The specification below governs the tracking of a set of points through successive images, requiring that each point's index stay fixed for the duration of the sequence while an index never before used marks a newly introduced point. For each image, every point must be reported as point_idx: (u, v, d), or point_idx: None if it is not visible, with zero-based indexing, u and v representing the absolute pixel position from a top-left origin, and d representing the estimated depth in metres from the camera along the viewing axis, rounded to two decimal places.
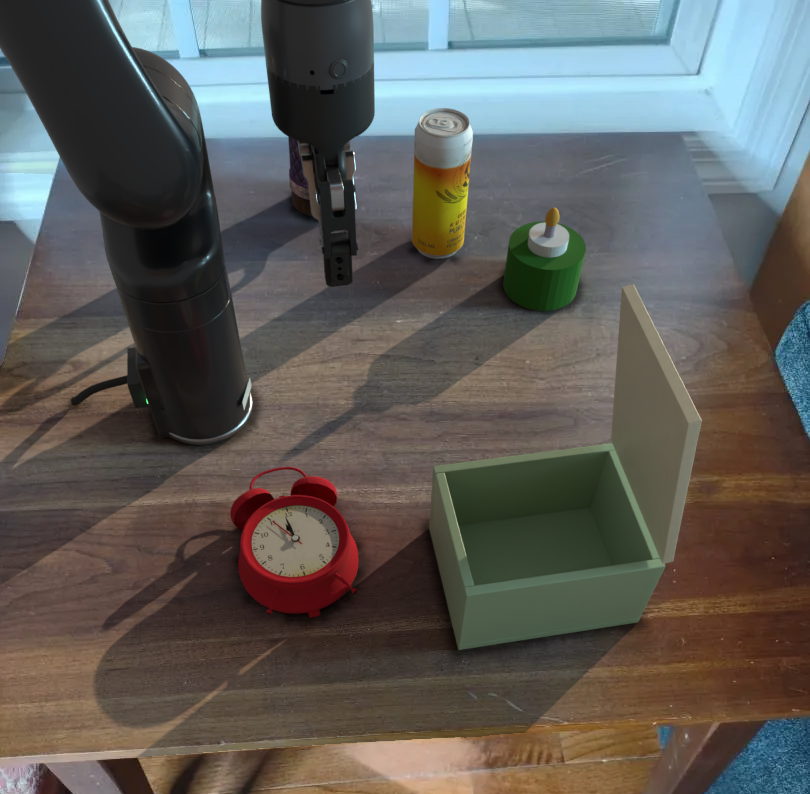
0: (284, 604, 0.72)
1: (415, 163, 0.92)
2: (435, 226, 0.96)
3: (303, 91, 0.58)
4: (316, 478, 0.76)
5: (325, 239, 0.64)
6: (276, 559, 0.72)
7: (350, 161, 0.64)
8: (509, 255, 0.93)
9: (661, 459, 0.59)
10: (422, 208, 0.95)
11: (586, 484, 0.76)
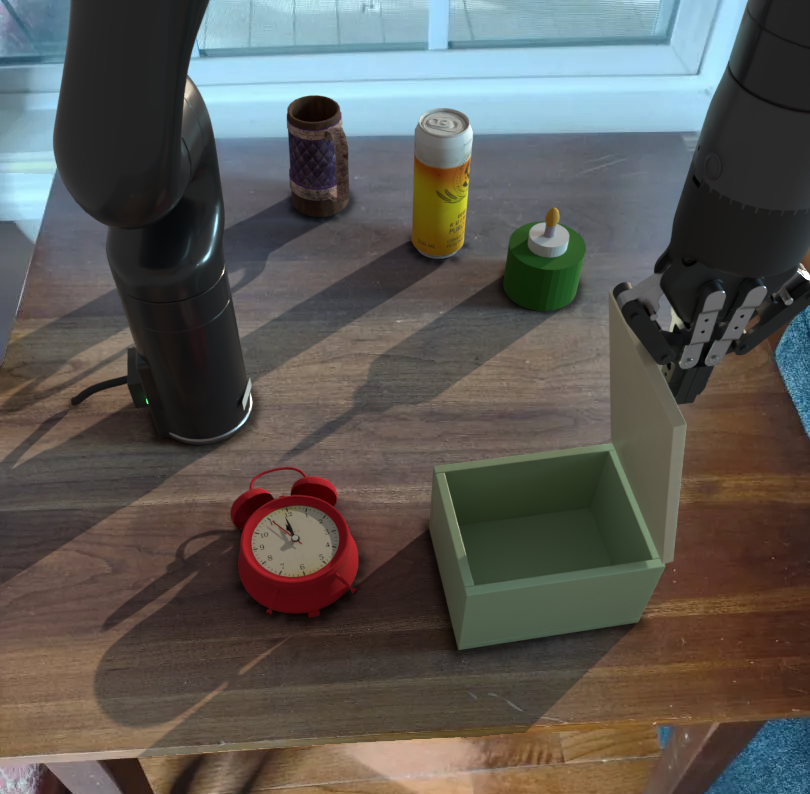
0: (284, 604, 0.72)
1: (415, 163, 0.92)
2: (435, 226, 0.96)
3: (691, 163, 0.46)
4: (316, 478, 0.76)
5: None
6: (276, 559, 0.72)
7: (702, 300, 0.50)
8: (509, 255, 0.93)
9: (653, 461, 0.59)
10: (422, 208, 0.95)
11: (586, 484, 0.76)
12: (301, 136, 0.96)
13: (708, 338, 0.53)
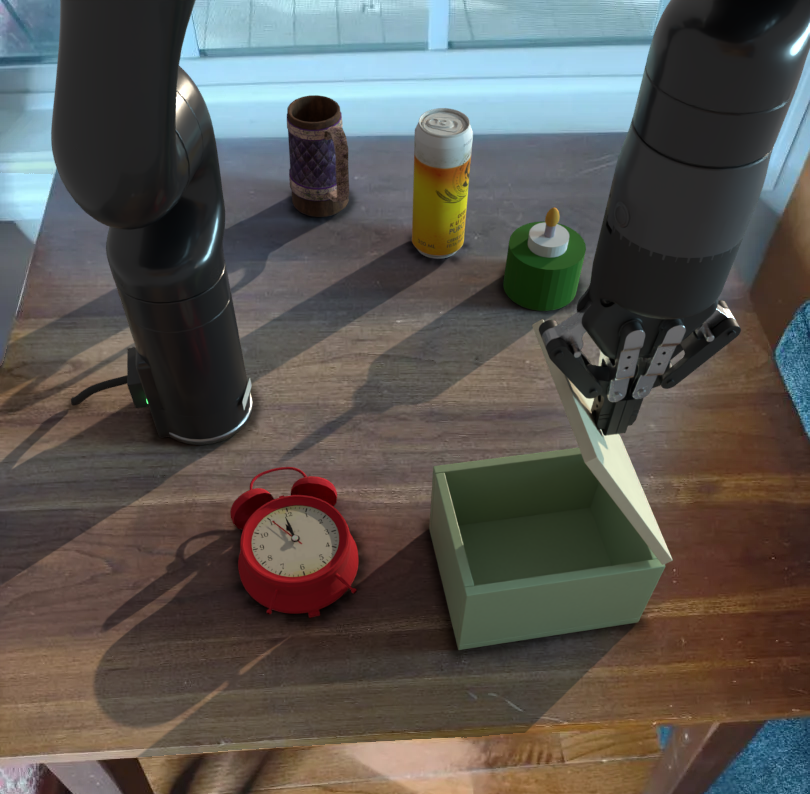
0: (284, 604, 0.72)
1: (415, 163, 0.92)
2: (435, 226, 0.96)
3: None
4: (316, 478, 0.76)
5: None
6: (276, 559, 0.72)
7: (623, 339, 0.52)
8: (509, 255, 0.93)
9: None
10: (422, 208, 0.95)
11: (586, 484, 0.76)
12: (301, 136, 0.96)
13: (632, 374, 0.54)
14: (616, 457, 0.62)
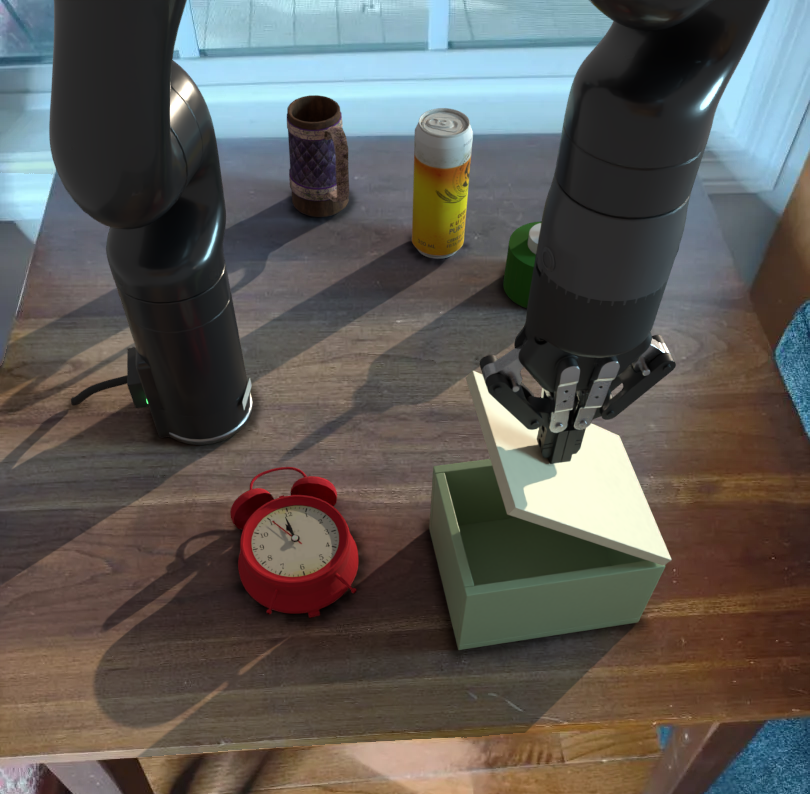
0: (284, 604, 0.72)
1: (415, 163, 0.92)
2: (435, 226, 0.96)
3: None
4: (316, 478, 0.76)
5: None
6: (276, 559, 0.72)
7: (559, 374, 0.53)
8: (509, 255, 0.93)
9: None
10: (422, 208, 0.95)
11: None
12: (301, 136, 0.96)
13: (571, 406, 0.56)
14: (581, 478, 0.63)
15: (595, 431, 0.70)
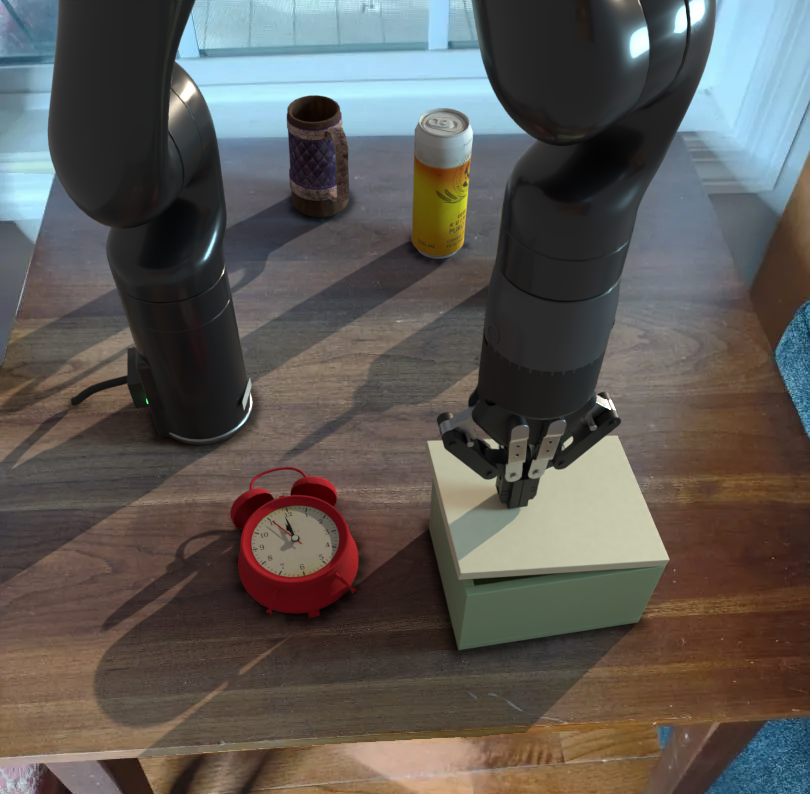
0: (284, 604, 0.72)
1: (415, 163, 0.92)
2: (435, 226, 0.96)
3: None
4: (316, 478, 0.76)
5: None
6: (276, 559, 0.72)
7: (509, 431, 0.57)
8: None
9: None
10: (422, 208, 0.95)
11: None
12: (301, 136, 0.96)
13: (523, 459, 0.59)
14: (552, 508, 0.66)
15: None
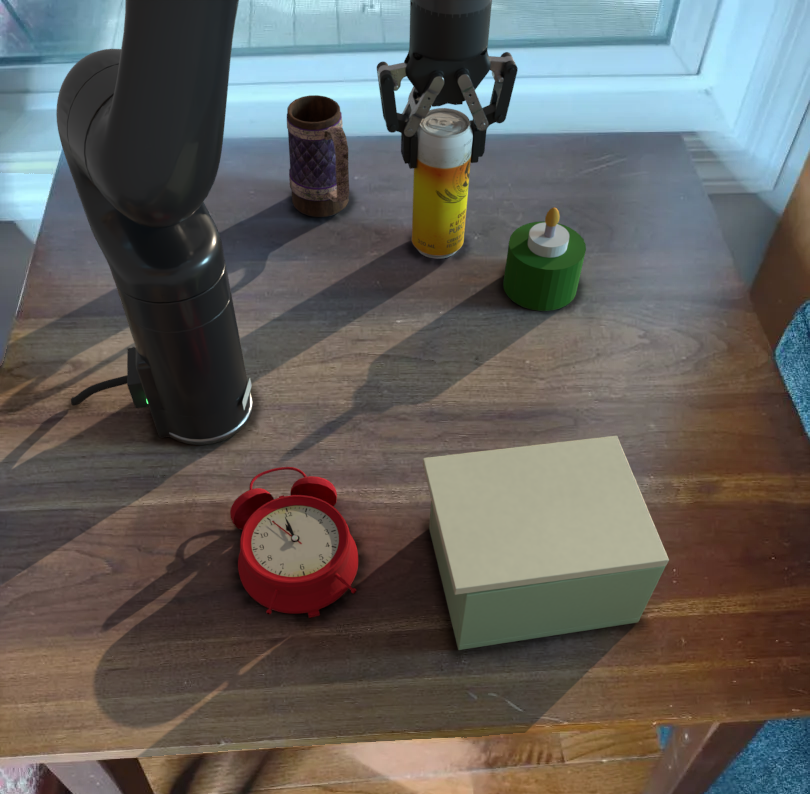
0: (284, 604, 0.72)
1: None
2: (435, 226, 0.96)
3: None
4: (316, 478, 0.76)
5: (381, 103, 0.87)
6: (275, 559, 0.72)
7: (431, 80, 0.83)
8: (509, 255, 0.93)
9: None
10: (422, 208, 0.95)
11: None
12: (301, 136, 0.96)
13: (425, 114, 0.86)
14: (549, 516, 0.67)
15: (580, 448, 0.71)
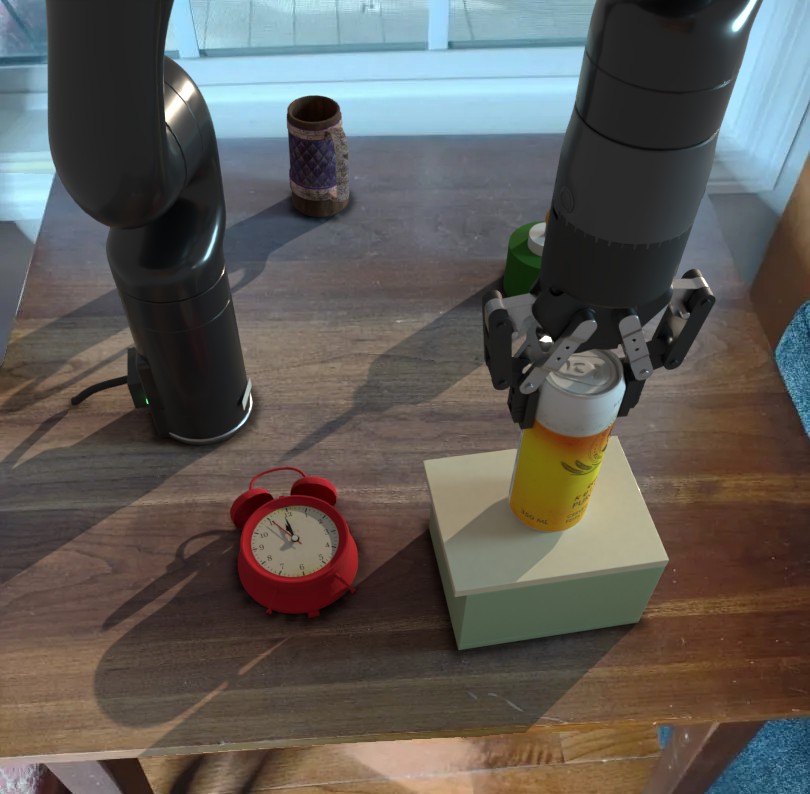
0: (284, 604, 0.72)
1: None
2: (552, 501, 0.62)
3: None
4: (316, 478, 0.76)
5: None
6: (275, 560, 0.72)
7: (574, 325, 0.50)
8: (509, 255, 0.93)
9: None
10: (535, 477, 0.61)
11: None
12: (301, 136, 0.96)
13: (559, 368, 0.52)
14: None
15: None
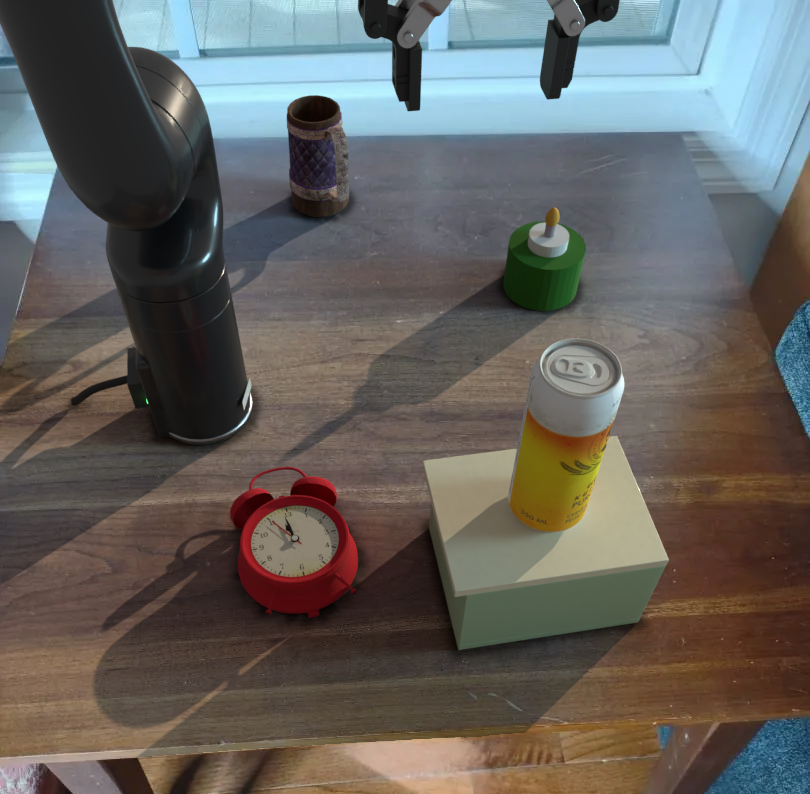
0: (283, 604, 0.72)
1: (528, 420, 0.58)
2: (551, 501, 0.62)
3: None
4: (316, 478, 0.76)
5: None
6: (275, 560, 0.72)
7: None
8: (509, 255, 0.93)
9: None
10: (534, 477, 0.61)
11: None
12: (301, 136, 0.96)
13: (444, 8, 0.46)
14: None
15: None
